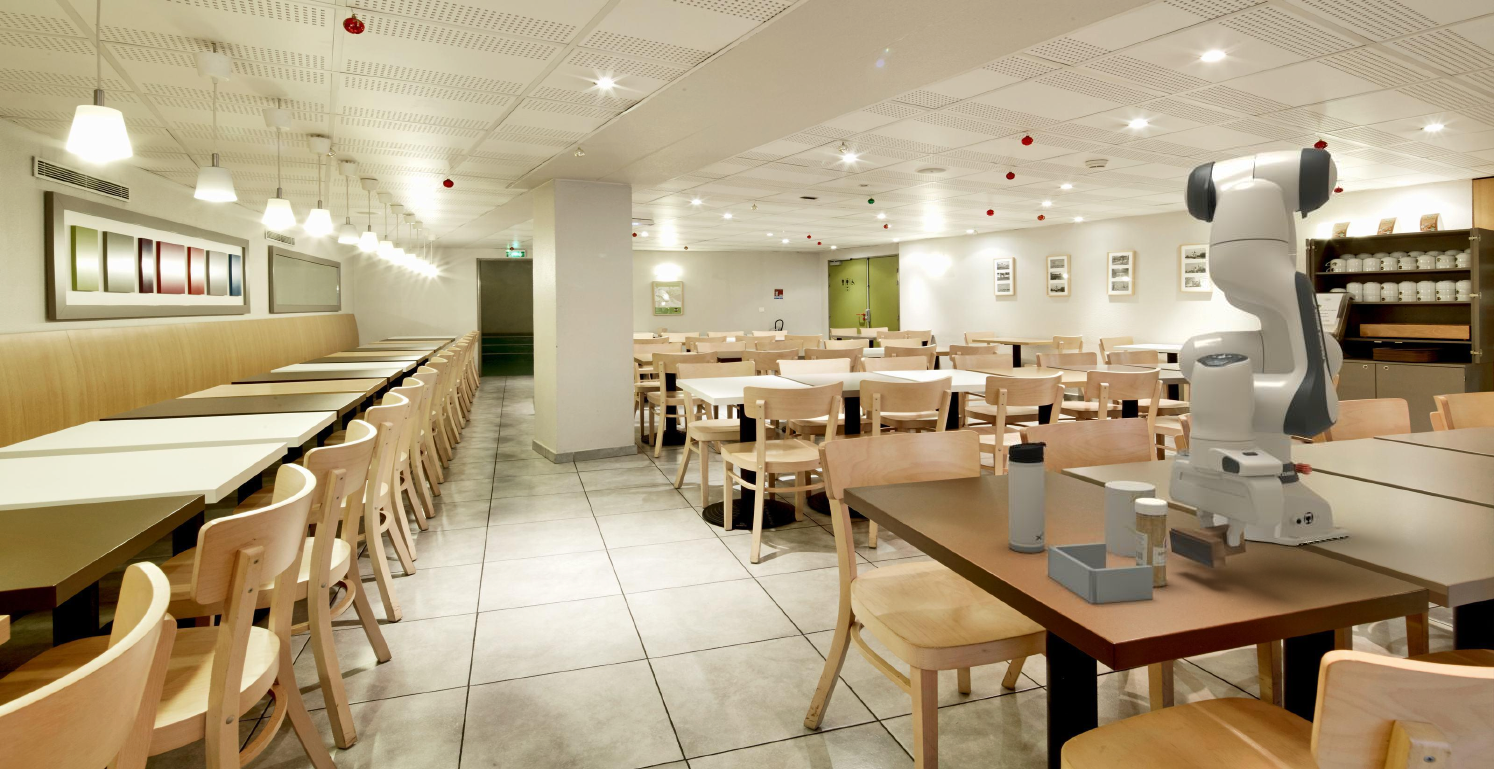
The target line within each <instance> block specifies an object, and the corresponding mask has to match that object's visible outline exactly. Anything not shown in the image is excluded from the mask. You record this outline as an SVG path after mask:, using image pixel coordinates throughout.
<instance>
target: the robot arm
mask: <svg viewBox="0 0 1494 769" xmlns="http://www.w3.org/2000/svg"><path fill="white" fill-rule="evenodd" d="M1337 168H1338V167H1337V166H1336V163H1335V161H1334V159H1333V158H1332V154H1331V153H1330V152H1329V151H1327V149H1324V148H1320V147H1319V148H1317V147H1304V148H1302V149H1300V150H1299V149H1296V150H1295V149H1294V150H1275V151H1266V152H1265V151H1263V152H1258V153H1256V154H1252V155H1246V156H1245V155H1244V156H1239V157H1234V158H1230V159H1225V160H1221V161H1218V162H1217V161H1214V160H1213V161H1211V162H1205V163H1204V164H1201V165H1198V166H1196V167H1195V168H1193V170H1192V171H1191V172H1190V173H1189V175H1188V180H1187V181H1186V184H1185V187H1184V193H1183V194H1184V195H1183V197H1184V202H1185V206H1186V208H1187V210H1188V213H1189V215H1191V216H1192V217H1193V218H1195V219H1196V220H1199V221H1204V222H1205V223H1211V228H1210V235H1209V236H1210V237H1209V243H1208V245H1209V246H1208V272H1209V278H1210V279H1211V281H1212V283H1213V284H1214V285H1215V286H1216V288H1218V290H1220V291H1221V292H1222V293H1223V294H1224V298H1225V299H1226V301H1227V303H1229V304H1230V305H1231V306H1232V307H1233V308H1236V309H1238V310H1240V311H1242V312H1245V313H1247V314H1250V315H1253V316H1254V317H1257V318H1258V320H1259V321H1260V325H1261V326H1260V327H1261V328H1260V329H1257V330H1236V331H1235V330H1234V331H1215V332H1209V333H1208V332H1207V333H1204V334H1203V333H1202V334H1199V335H1196V336H1195V335H1193V336H1191V337H1189V338H1188V339H1187V340H1186V341H1185V342H1184V343H1183V345H1182V347H1181V349H1180V351H1179V354H1178V367H1179V370H1180V373H1181V374H1182V377H1183V378H1184V379H1185V380H1186V381H1187V382H1188V383H1189V384H1190V387H1189V388H1190V389H1189V401H1188V403H1189V406H1188V407H1189V408H1188V409H1189V413H1190V416H1191V426H1190V431H1189V434H1188V435H1189V436H1188V440H1189V441H1188V442H1189V444H1188V445H1189V446H1188V448H1181V449H1180V450H1179V451H1177V452H1176V453H1174V458H1173V460H1174V461H1173V463H1172V465H1171V469H1170V474H1169V486H1168V495H1169V498H1170V499H1171V501H1172V502H1174V503H1178V504H1181V505H1185V506H1187V507H1190V508H1194V509H1196V510H1195V511H1196V512H1195V514H1196V516H1197V519H1198V521H1199V523H1200V525H1201V529H1204V528H1209V527H1213V526H1218V525H1223V524H1229V525H1230V527H1229V529H1228V531H1227V533H1223V536H1222V537H1223V543H1224V544H1226V545H1229V546H1238V545H1239V544H1240V535H1241V533H1242V531H1244V539H1245V540H1247V541H1256V542H1257V541H1258V542H1266V543H1275V544H1278V545H1279V544H1280V545H1287V546H1299V543H1301V542H1306V541H1307V542H1308V541H1316V540H1324V539H1331V538H1337V539H1341V538H1340V537H1343V538H1346V537H1345V536H1348V537H1349V531H1348V530H1347V529H1345V528H1344V527H1342V526H1340V525H1337V524H1334V520H1333V511H1332V508H1331V505H1330V503H1329V502H1328V501H1327V500H1326V499H1325V498H1323V497H1322V496H1321V495H1319V494H1317V493H1316V492H1315V491H1314V490H1312V489H1311V488H1310V487H1308V486H1307V485H1306V484H1305V483H1302V481H1300V477H1299V474H1303V475H1305V476H1308V475H1311V473H1313V467H1312V465H1311V464H1307V463H1303V462H1298V463H1294V462H1293V461H1291V460H1292V457H1291V456H1292V453H1291V452H1292V436H1293V437H1301V438H1307V439H1312V438H1314V437H1317V436H1319V435H1320V434H1322V433H1324V432H1327V430H1329V429H1331V428H1332V427H1333V426H1334V425H1336V423H1337V421H1338V417H1339V410H1340V402H1339V398H1338V393H1337V391H1336V388H1335V385H1334V379H1335V378H1336V377H1337V375H1338V374H1339V373H1340V370H1341V368H1342V365H1343V361H1344V360H1343V359H1344V356H1343V351H1342V348H1341V346H1340V344H1339V342H1338V341H1337V340H1336V338H1335V337H1333V335H1332V334H1330V333H1329V332H1326V331H1325V330H1323V322H1322V317H1321V313H1320V307H1319V302H1318V299H1317V293H1316V289H1315V288H1314V285H1313V283H1312V281H1311V278H1310V277H1309V276H1308V275H1307V273H1303V272H1300V271H1298V270H1297V257H1298V256H1297V252H1298V251H1297V250H1298V249H1297V248H1298V247H1297V246H1298V242H1297V241H1298V240H1297V231H1296V230H1297V229H1296V228H1297V227H1296V223H1295V216H1294V215H1295V214H1294V213H1298V212H1300V213H1301V219H1302V220H1304V219H1306V218H1307V217H1308V214H1309V213H1311V212H1314V211H1316V210H1318V209H1321V207H1322V206H1324V205H1325V204H1326V203H1327V202H1328V201H1329V200H1330V198H1331V195H1332V194H1333V193H1334V190H1335V188H1336V185H1337V183H1338V169H1337ZM1331 540H1332V539H1331Z"/></svg>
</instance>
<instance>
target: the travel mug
mask: <svg viewBox="0 0 1494 769" xmlns="http://www.w3.org/2000/svg"><path fill="white" fill-rule="evenodd" d="M1045 448H1047V443H1045V442H1044V441H1039V442H1022V443H1016V444H1012V445H1009V448H1008V459H1007V460H1008V461H1007V462H1008V463H1007V464H1008V465H1007V466H1008V472H1007V473H1008V548H1010V549H1011V550H1013V551H1014V552H1018V553H1024V554H1025V553H1026V554H1035V553H1041V552H1043V551H1044V550H1045V549H1046V548H1045V547H1046V544H1045V543H1046V542H1045V539H1046V536H1045V535H1046V533H1045V528H1046V527H1045V522H1046V521H1045V517H1046V516H1045V515H1046V514H1045V512H1046V510H1045V503H1046V502H1045V452H1044V451H1045V450H1044V449H1045Z"/></svg>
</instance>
